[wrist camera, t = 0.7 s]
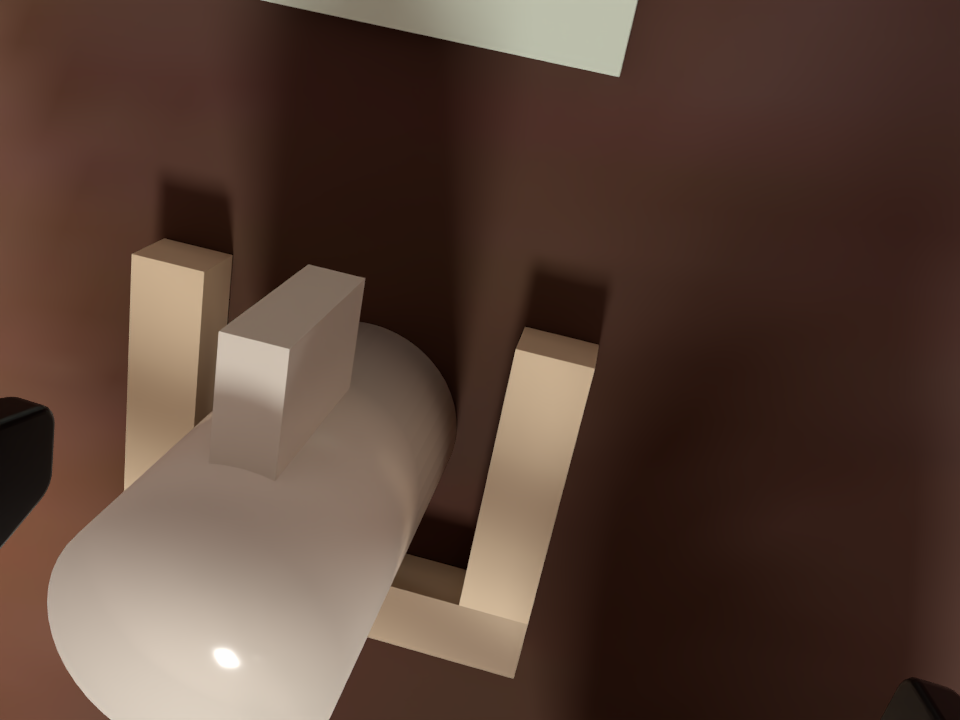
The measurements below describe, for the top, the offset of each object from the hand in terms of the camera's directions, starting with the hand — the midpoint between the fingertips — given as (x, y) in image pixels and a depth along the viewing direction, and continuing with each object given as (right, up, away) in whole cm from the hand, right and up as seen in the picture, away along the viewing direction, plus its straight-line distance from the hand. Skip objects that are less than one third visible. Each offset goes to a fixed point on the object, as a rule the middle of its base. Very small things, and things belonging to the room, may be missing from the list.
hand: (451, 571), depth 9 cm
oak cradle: (-3, +1, +14) cm, 14 cm away
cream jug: (-3, +2, +13) cm, 14 cm away
